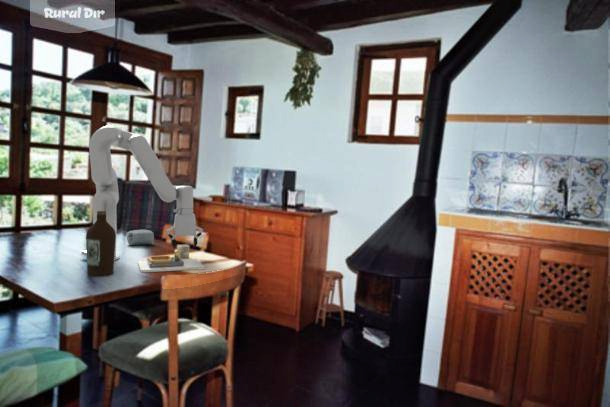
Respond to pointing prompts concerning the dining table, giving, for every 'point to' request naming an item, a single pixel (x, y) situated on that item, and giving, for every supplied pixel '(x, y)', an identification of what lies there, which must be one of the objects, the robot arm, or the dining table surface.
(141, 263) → the index board
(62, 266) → the dining table surface
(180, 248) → the link block
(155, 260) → the carriage
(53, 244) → the dining table surface
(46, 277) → the dining table surface
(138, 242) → the rolled grey towel
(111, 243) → the olive oil
